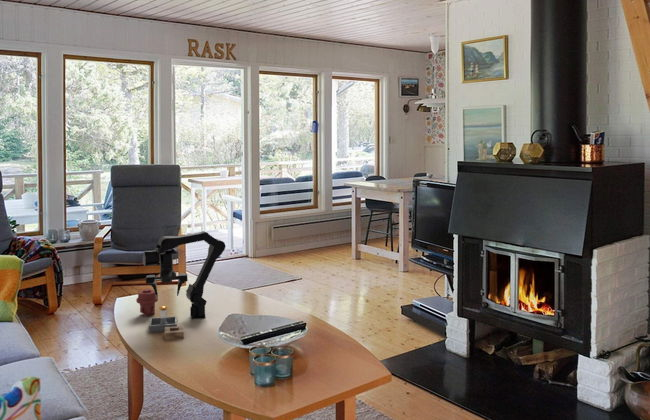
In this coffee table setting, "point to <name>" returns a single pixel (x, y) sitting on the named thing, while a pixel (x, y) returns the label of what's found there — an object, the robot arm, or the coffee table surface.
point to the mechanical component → (147, 301)
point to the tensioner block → (174, 332)
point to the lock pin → (163, 315)
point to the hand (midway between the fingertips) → (167, 296)
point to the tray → (157, 327)
